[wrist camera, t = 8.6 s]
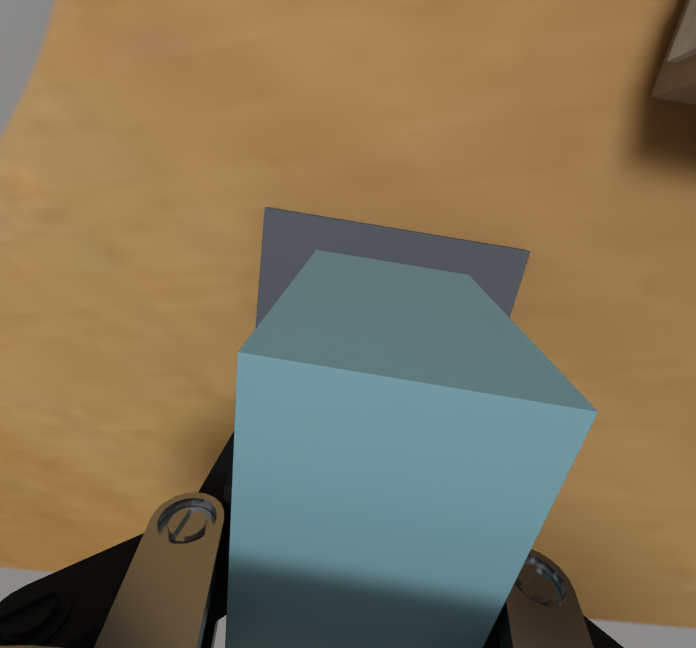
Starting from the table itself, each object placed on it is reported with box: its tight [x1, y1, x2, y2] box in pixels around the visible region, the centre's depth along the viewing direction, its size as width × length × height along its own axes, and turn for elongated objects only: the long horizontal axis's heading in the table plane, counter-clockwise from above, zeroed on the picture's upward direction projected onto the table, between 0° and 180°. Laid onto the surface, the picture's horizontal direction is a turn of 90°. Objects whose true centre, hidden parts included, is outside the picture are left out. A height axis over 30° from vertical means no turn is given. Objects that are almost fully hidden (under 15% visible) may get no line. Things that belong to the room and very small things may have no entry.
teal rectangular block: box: [225, 250, 598, 648], centre depth 9 cm, size 4×10×6 cm, turn 171°
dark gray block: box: [256, 207, 530, 328], centre depth 16 cm, size 10×12×1 cm
